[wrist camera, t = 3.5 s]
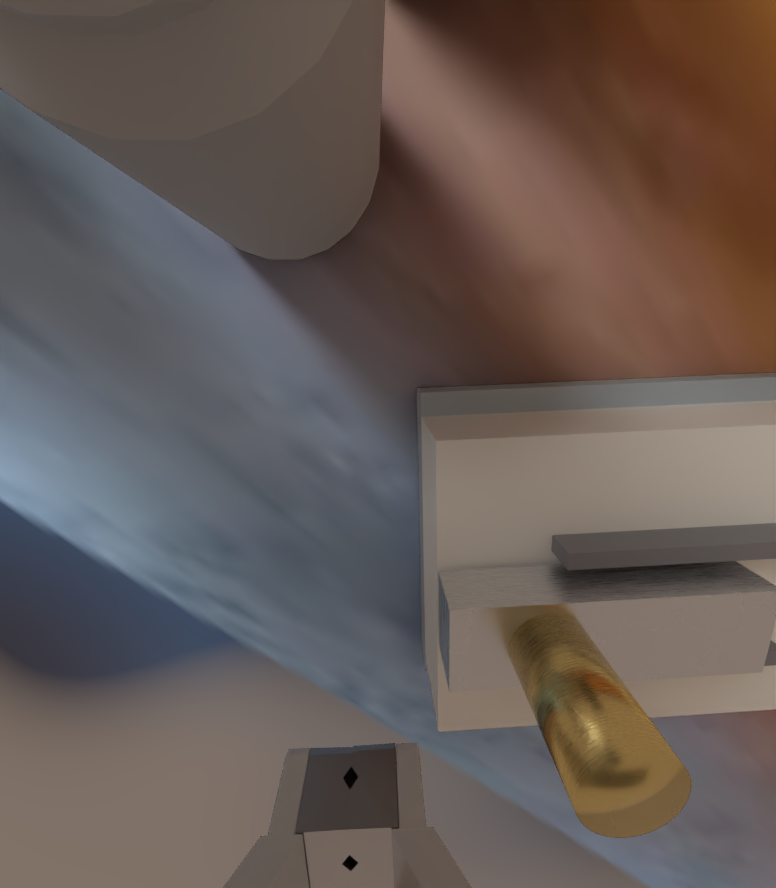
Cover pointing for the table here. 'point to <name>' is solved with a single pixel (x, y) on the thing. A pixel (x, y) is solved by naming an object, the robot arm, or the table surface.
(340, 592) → the table surface
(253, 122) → the can
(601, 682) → the bolt
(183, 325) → the table surface
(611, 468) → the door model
